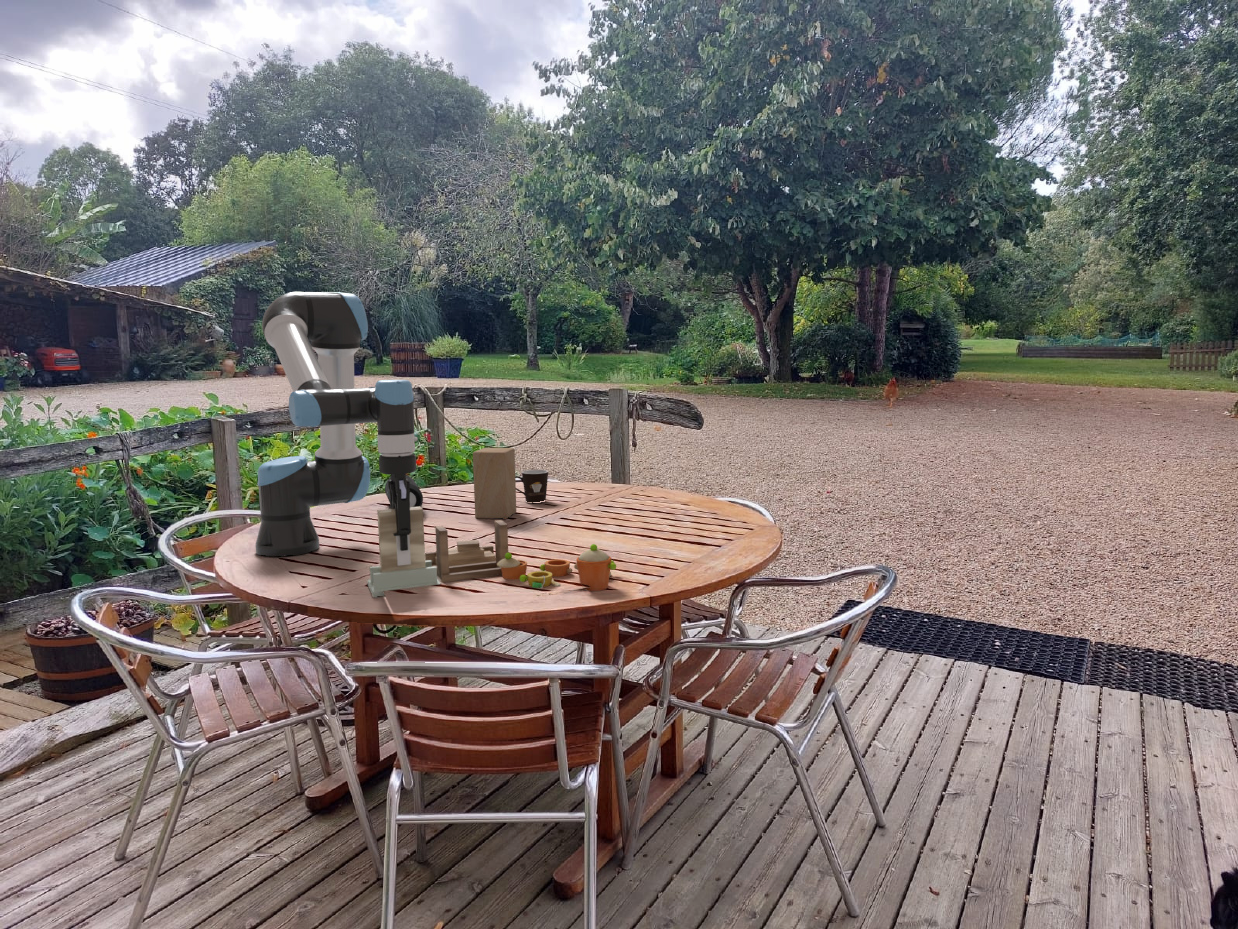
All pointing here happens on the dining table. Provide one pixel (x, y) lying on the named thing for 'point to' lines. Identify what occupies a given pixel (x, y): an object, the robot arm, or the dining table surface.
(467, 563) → the rack
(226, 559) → the dining table surface
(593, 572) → the toy tea set
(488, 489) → the wooden block
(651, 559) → the dining table surface
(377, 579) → the stand
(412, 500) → the portable speaker
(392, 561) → the birch block
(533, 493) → the coffee mug
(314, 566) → the dining table surface
